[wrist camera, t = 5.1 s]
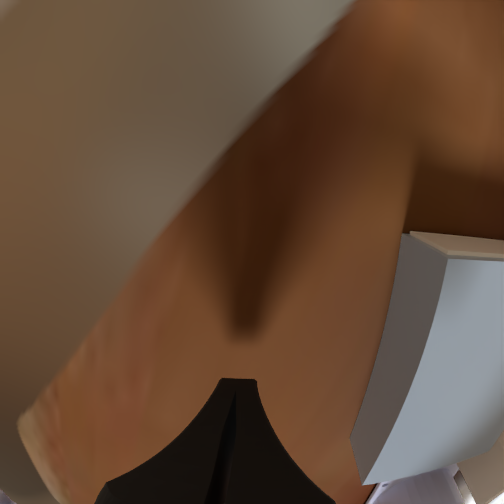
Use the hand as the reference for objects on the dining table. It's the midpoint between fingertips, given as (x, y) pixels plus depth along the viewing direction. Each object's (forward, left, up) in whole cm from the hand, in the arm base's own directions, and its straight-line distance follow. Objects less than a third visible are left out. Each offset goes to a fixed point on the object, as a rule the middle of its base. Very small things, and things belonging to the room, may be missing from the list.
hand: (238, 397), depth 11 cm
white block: (0, -11, -3) cm, 11 cm away
